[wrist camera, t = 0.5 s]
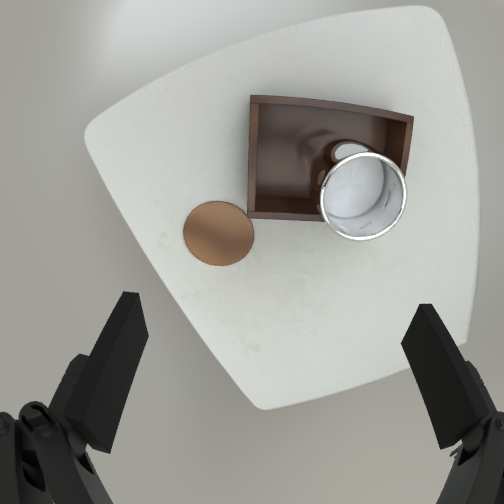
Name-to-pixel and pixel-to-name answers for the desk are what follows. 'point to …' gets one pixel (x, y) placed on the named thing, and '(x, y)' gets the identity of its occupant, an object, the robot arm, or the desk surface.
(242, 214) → the coaster
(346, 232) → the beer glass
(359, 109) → the crate
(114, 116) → the desk surface
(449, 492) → the robot arm
